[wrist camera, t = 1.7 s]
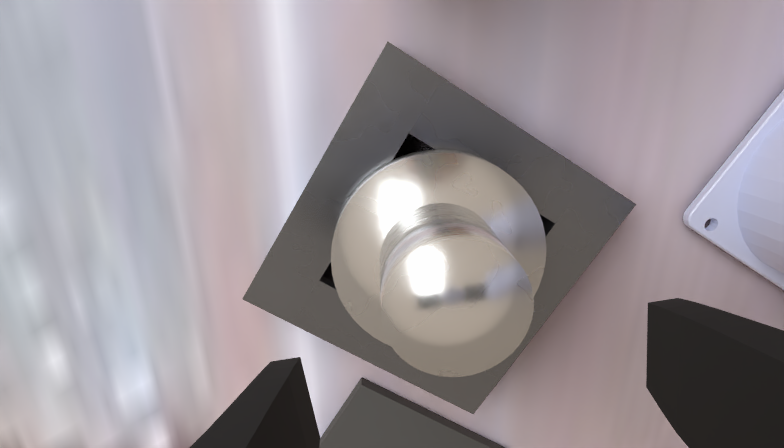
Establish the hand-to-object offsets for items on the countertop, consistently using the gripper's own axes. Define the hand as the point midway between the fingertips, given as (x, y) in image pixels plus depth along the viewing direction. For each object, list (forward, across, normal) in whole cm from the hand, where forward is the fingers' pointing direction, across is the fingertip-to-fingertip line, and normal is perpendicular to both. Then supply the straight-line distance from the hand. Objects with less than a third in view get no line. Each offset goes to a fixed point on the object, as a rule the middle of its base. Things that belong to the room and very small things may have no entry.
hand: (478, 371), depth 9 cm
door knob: (+9, 0, 0) cm, 9 cm away
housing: (+9, 0, 0) cm, 9 cm away
